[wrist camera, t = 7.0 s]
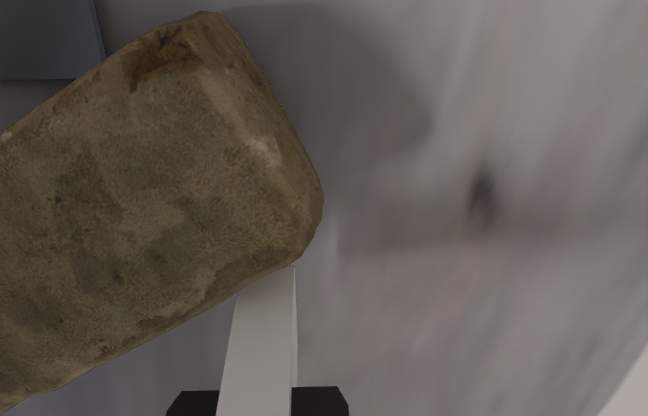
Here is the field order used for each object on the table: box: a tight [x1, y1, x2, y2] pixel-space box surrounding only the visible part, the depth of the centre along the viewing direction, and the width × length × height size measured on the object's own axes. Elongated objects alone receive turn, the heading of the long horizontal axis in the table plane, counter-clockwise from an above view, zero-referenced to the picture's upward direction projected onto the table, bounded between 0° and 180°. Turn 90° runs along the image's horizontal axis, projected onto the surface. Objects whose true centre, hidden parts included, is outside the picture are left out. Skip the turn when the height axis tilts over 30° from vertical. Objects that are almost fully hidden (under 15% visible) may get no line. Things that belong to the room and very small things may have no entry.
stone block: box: [0, 11, 324, 415], centre depth 14 cm, size 6×12×5 cm, turn 122°
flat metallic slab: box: [0, 0, 106, 80], centre depth 21 cm, size 16×34×2 cm, turn 1°
